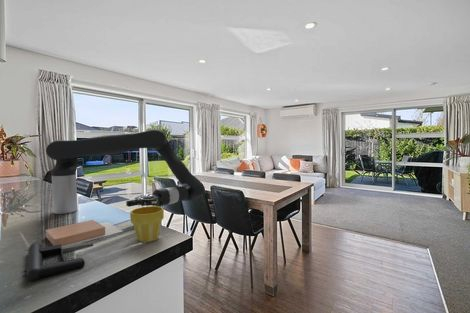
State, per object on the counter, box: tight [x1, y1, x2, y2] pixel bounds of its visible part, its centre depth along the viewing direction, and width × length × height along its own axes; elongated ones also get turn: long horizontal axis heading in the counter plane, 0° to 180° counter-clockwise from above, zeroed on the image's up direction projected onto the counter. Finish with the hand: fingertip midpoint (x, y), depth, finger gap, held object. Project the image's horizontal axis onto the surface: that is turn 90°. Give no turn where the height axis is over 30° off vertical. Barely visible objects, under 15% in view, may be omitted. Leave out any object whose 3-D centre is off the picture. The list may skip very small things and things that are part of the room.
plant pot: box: [129, 205, 165, 243], centre depth 79 cm, size 10×10×10 cm
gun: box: [20, 241, 94, 282], centre depth 65 cm, size 3×20×16 cm
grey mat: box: [61, 221, 123, 247], centre depth 82 cm, size 15×18×1 cm
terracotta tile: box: [45, 219, 105, 246], centre depth 80 cm, size 12×2×14 cm
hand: (127, 203), depth 92 cm, fingers closed
